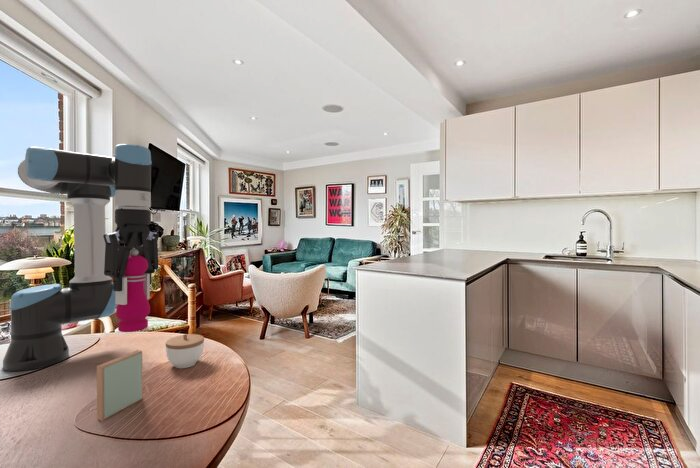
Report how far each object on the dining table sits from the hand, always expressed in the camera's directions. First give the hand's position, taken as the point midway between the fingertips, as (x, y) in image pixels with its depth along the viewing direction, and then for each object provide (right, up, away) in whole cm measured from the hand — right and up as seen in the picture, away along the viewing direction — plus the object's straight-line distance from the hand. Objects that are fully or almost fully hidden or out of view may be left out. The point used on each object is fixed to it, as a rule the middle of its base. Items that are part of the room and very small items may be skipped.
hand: (133, 301), depth 84 cm
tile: (+1, -24, -5) cm, 25 cm away
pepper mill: (0, -7, 0) cm, 7 cm away
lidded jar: (+3, -24, +20) cm, 31 cm away
